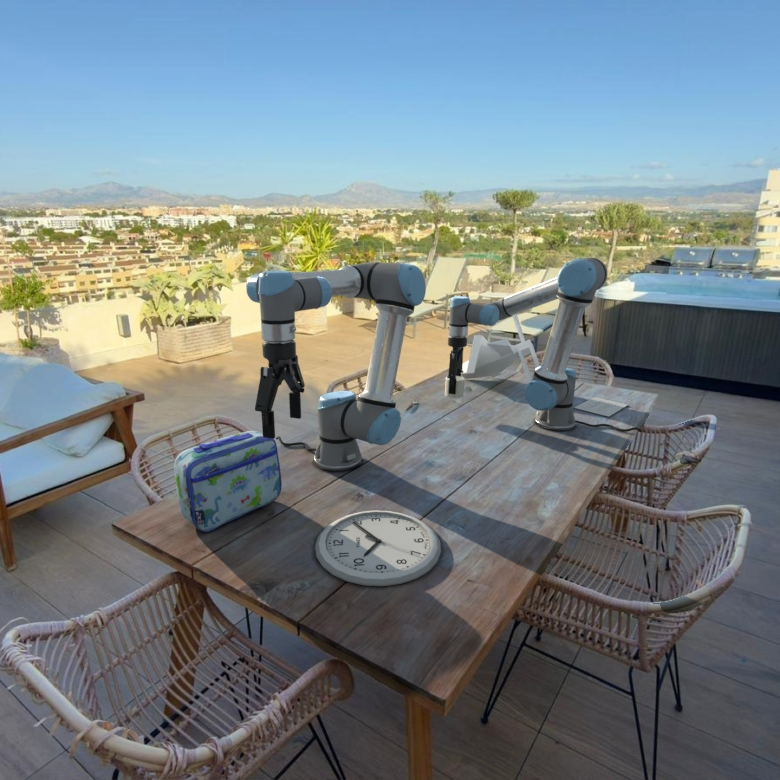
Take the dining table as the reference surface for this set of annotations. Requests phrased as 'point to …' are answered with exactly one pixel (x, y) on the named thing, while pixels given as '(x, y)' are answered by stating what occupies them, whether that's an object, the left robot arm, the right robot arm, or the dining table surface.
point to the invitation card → (601, 406)
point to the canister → (458, 387)
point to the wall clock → (378, 548)
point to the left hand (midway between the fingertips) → (283, 427)
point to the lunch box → (227, 478)
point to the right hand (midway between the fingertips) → (454, 390)
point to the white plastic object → (497, 356)
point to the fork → (413, 403)
